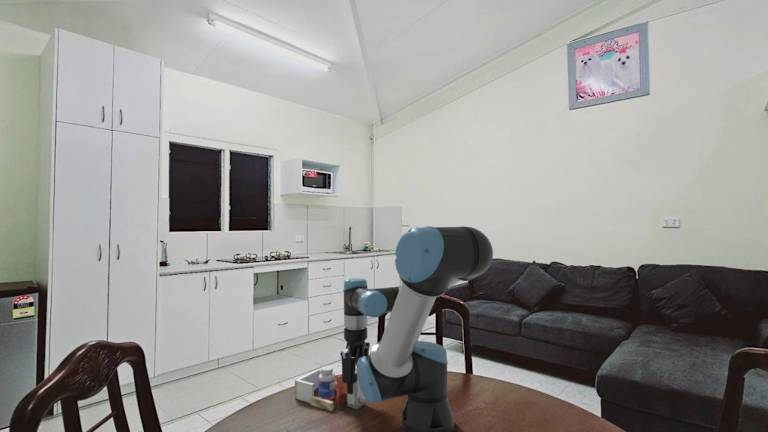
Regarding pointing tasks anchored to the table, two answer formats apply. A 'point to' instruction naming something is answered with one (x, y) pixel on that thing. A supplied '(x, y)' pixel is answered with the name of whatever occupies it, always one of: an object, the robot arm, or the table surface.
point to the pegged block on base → (343, 395)
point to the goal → (307, 385)
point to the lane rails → (322, 402)
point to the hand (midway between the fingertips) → (356, 400)
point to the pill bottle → (327, 383)
